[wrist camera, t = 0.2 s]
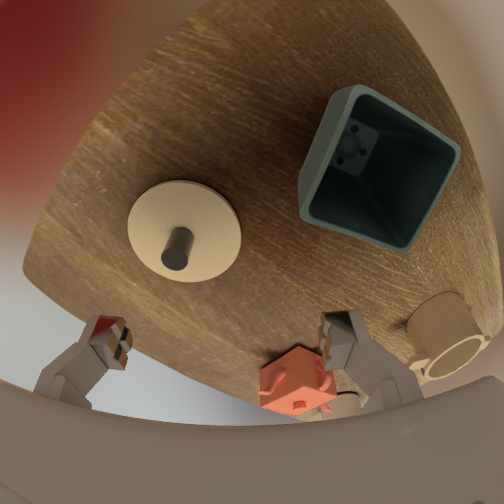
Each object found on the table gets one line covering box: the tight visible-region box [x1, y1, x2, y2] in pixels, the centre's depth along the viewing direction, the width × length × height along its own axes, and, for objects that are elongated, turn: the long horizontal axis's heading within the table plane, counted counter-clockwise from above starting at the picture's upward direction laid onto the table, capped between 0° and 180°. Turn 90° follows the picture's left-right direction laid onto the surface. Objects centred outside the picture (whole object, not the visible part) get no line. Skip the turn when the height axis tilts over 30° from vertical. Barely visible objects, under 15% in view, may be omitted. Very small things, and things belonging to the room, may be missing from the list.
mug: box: [321, 392, 362, 420], centre depth 47 cm, size 11×9×10 cm
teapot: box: [258, 346, 337, 416], centre depth 38 cm, size 12×15×8 cm
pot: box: [406, 292, 491, 380], centre depth 33 cm, size 10×16×8 cm, turn 93°
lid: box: [128, 180, 241, 282], centre depth 25 cm, size 11×11×5 cm
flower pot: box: [297, 84, 461, 253], centre depth 19 cm, size 9×9×9 cm
